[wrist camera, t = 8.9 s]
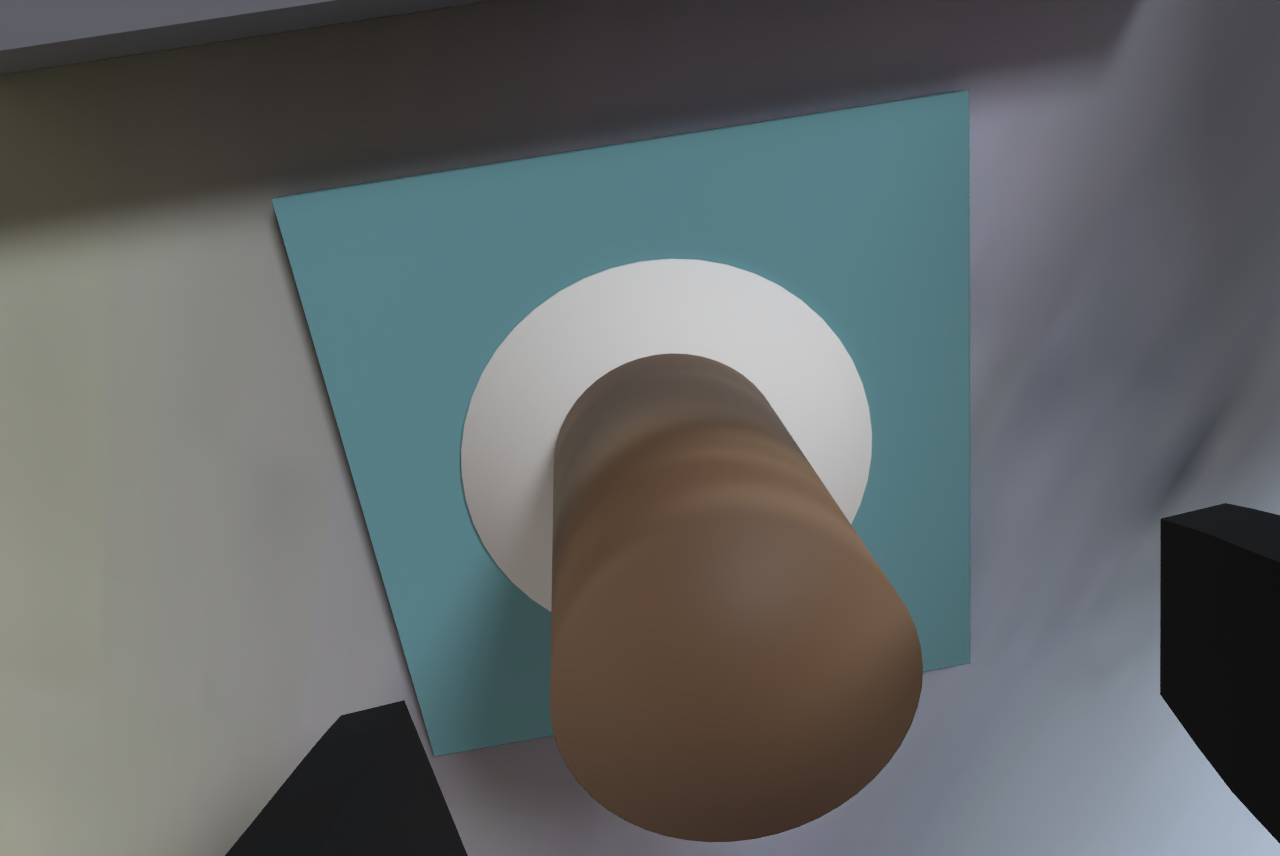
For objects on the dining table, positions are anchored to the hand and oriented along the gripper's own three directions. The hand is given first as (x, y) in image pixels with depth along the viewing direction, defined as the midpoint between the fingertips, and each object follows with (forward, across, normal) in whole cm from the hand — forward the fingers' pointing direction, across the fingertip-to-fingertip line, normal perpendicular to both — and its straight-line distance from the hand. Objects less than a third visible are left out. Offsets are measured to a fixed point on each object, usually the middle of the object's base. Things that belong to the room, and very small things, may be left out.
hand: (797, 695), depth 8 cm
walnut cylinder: (+9, 0, +1) cm, 9 cm away
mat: (+9, 0, +1) cm, 9 cm away
